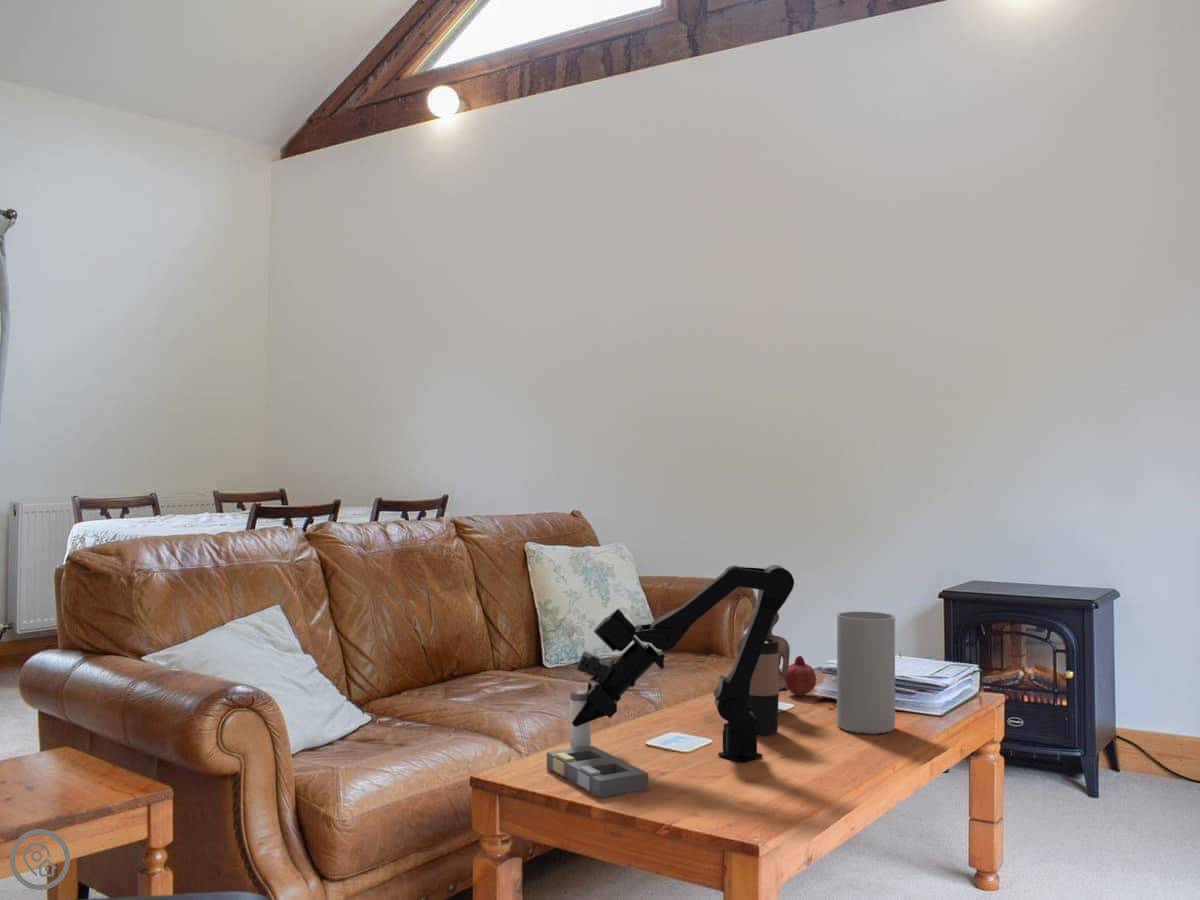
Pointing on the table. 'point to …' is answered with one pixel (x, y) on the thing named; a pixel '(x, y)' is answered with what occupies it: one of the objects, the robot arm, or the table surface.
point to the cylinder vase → (866, 672)
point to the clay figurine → (782, 651)
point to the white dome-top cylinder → (581, 732)
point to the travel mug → (765, 689)
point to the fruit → (800, 677)
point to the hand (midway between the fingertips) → (573, 722)
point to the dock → (597, 771)
